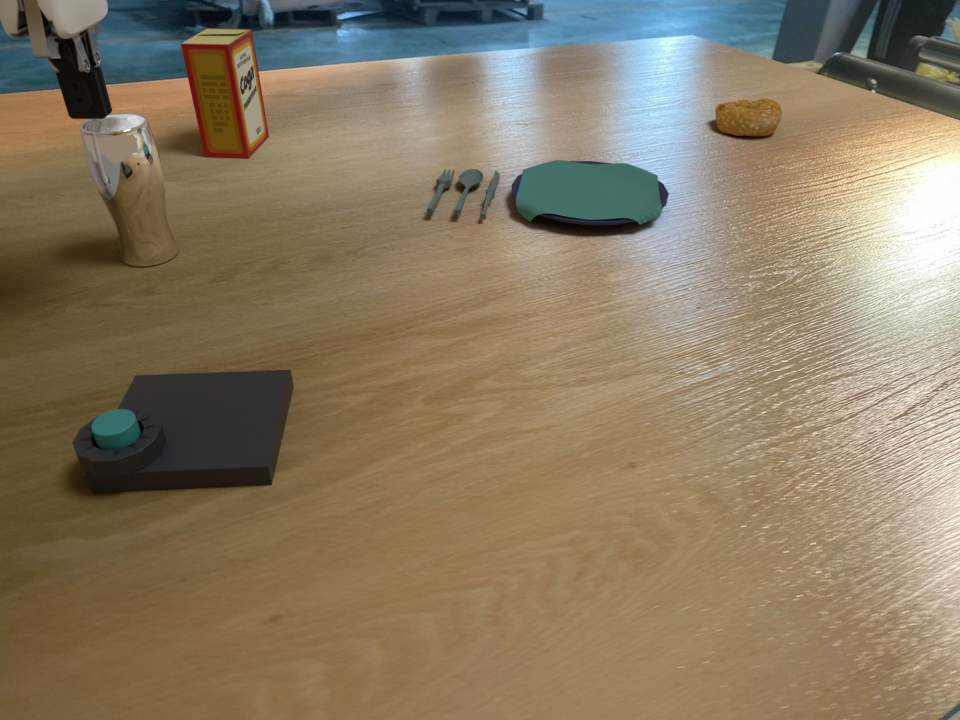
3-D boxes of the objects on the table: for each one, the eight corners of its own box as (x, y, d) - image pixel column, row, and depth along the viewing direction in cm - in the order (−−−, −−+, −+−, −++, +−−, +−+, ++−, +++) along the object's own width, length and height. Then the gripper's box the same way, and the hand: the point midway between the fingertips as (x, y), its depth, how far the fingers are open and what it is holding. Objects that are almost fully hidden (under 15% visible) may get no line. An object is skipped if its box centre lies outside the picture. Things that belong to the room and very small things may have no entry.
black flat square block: (75, 498, 55) (60, 462, 53) (129, 393, 65) (118, 359, 63) (271, 489, 56) (263, 454, 54) (294, 386, 66) (288, 353, 64)
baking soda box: (248, 158, 111) (227, 42, 101) (204, 156, 111) (179, 41, 102) (269, 136, 118) (251, 26, 109) (228, 135, 119) (207, 25, 110)
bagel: (750, 115, 127) (756, 86, 124) (792, 136, 118) (799, 105, 116) (698, 121, 124) (703, 91, 122) (737, 143, 116) (743, 112, 113)
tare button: (91, 452, 55) (84, 436, 54) (105, 425, 57) (99, 409, 56) (133, 450, 55) (128, 434, 54) (146, 423, 57) (140, 407, 56)
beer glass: (132, 240, 89) (95, 111, 80) (191, 240, 89) (160, 112, 80) (107, 268, 83) (63, 133, 75) (170, 269, 83) (133, 134, 74)
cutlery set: (672, 242, 89) (675, 224, 87) (419, 226, 92) (418, 209, 91) (662, 177, 105) (664, 161, 103) (447, 166, 108) (446, 150, 107)
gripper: (16, -136, 63) (82, 91, 73) (-90, -127, 50) (8, 145, 61) (109, -136, 63) (161, 91, 73) (26, -126, 51) (102, 145, 61)
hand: (91, 115), depth 67 cm, fingers closed
